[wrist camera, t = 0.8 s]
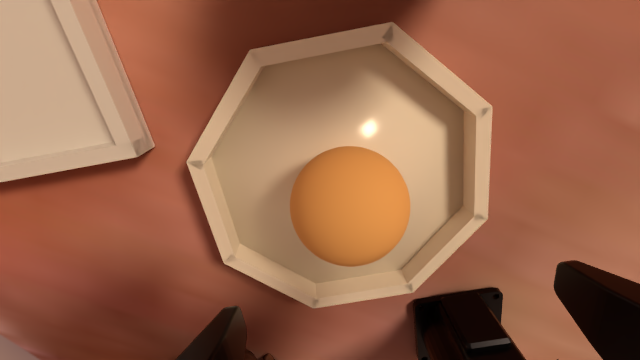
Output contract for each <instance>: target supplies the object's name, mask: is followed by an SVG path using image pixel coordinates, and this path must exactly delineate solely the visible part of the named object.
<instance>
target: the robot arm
mask: <svg viewBox="0 0 640 360" xmlns="http://www.w3.org/2000/svg"><path fill="white" fill-rule="evenodd" d="M554 290H555V293H556V295H557V296H558V298H559V299H560V300H561V302H562V303H563V305H564V306H565V308H566V309H567V311H568V312H569V313H570V315H571V316H572V318H573V319H574V321H575V322H576V324H577V325H578V326H579V328H580V329H581V331H582V332H583V334H584V335H585V336H586V338H587V339H588V341H589V342H590V343H591V345H592V346H593V347H594V349H595V350H596V351H597V353H598V354H599V355H600V356H601V358H602V359H603V360H640V284H639V283H636V282H633V281H630V280H628V279H625V278H622V277H620V276H617V275H614V274H612V273H609V272H606V271H604V270H601V269H598V268H595V267H593V266H590V265H587V264H585V263H582V262H579V261H575V260H572V261H565V262H560V263H559V264H558V265H557V268H556V274H555V280H554ZM502 300H503V294H502V293H501V291H500V290H499V289H498V288H488V289H481V290H475V291H469V292H462V293H456V294H450V295H444V296H437V297H431V298H425V299H419V300H416V301H415V302H414V303H413V312H414V325H415V338H416V351H417V357H418V360H526V359H525V357H524V356H523V355H522V353H521V352H520V350H519V349H518V348H517V346H516V345H515V343H514V342H513V341H512V339H511V338H510V336H509V335H508V334H507V332H506V331H505V329H504V328H503V326H502V325H501V314H502ZM419 306H421V307H419ZM246 338H247V329H246V325H245V321H244V318H243V315H242V312H241V309H240V308H239V307H238V306H231V307H226V308H224V309H222V310H221V312H220V313H219V314H218V315H217V316H216V317H215V318H214V319H213V320H212V321H211V322H210V323H209V324H208V326H207V327H206V328H205V329H204V330H203V331H202V332H201V333H200V334H199V335H198V336H197V337H196V338H195V340H194V341H193V342H192V343H191V344H190V345H189V346H188V347H187V348H186V349H185V350H184V351H183V352H182V354H181V355H180V356H179V357H178V358H177V359H176V360H244V356H245V347H246ZM557 360H558V359H557Z"/></svg>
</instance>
